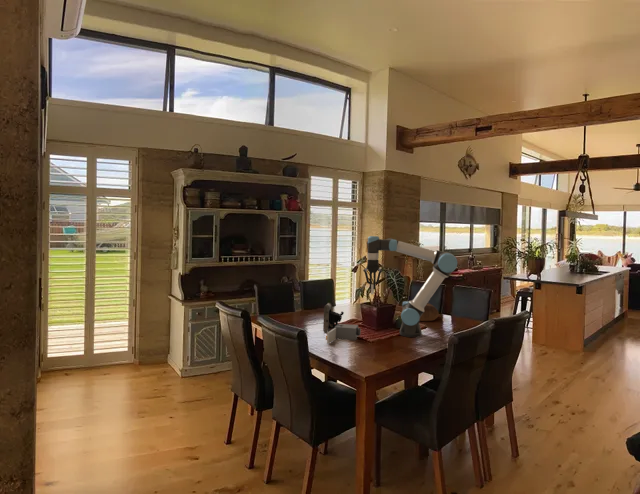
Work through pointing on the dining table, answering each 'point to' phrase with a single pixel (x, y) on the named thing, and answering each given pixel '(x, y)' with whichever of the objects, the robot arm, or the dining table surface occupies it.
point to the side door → (331, 335)
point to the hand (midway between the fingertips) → (372, 294)
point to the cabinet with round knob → (347, 331)
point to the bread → (429, 313)
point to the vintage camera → (330, 318)
